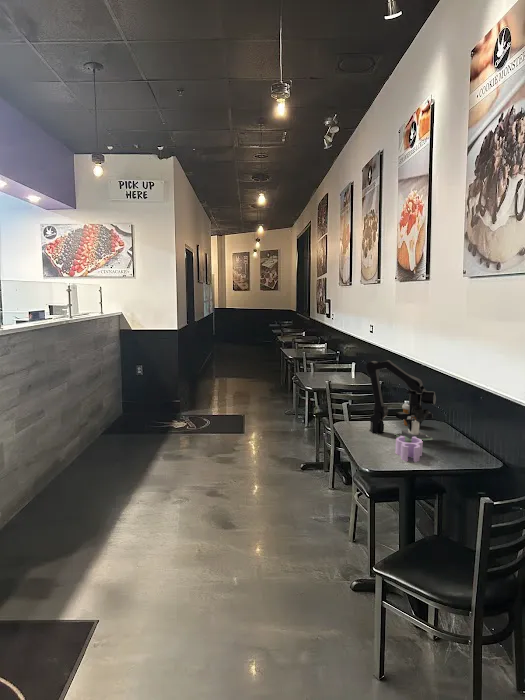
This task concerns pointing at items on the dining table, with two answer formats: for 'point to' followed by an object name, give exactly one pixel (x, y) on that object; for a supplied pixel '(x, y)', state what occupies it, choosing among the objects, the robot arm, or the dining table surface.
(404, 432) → the header socket
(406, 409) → the disposable coffee cup
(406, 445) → the clip
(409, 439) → the circuit board
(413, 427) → the keyed plug
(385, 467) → the dining table surface
